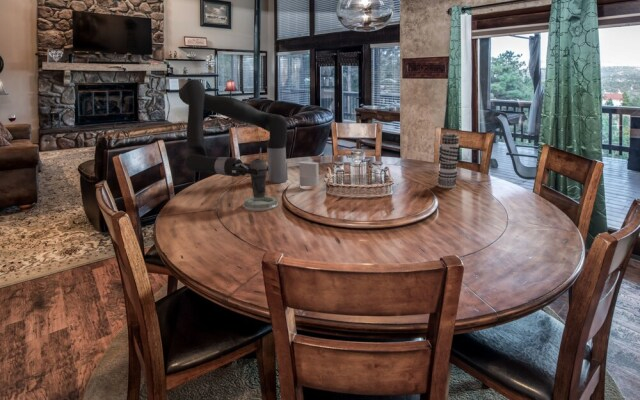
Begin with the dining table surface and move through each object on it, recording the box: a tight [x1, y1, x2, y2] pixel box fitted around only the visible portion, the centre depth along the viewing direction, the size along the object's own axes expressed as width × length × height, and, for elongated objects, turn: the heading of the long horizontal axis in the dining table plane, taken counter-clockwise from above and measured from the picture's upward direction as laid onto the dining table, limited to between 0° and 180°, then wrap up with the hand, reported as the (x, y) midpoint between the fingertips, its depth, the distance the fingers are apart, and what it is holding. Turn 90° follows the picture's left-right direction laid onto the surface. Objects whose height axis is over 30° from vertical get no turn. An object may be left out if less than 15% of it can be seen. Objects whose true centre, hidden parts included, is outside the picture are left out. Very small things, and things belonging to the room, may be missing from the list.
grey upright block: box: [298, 161, 319, 186], centre depth 208 cm, size 9×9×12 cm
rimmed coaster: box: [242, 195, 279, 212], centre depth 180 cm, size 14×14×2 cm
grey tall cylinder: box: [437, 132, 461, 189], centre depth 207 cm, size 9×9×25 cm
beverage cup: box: [249, 147, 268, 198], centre depth 176 cm, size 7×7×20 cm
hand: (263, 170), depth 175 cm, fingers closed on beverage cup, 7 cm apart
